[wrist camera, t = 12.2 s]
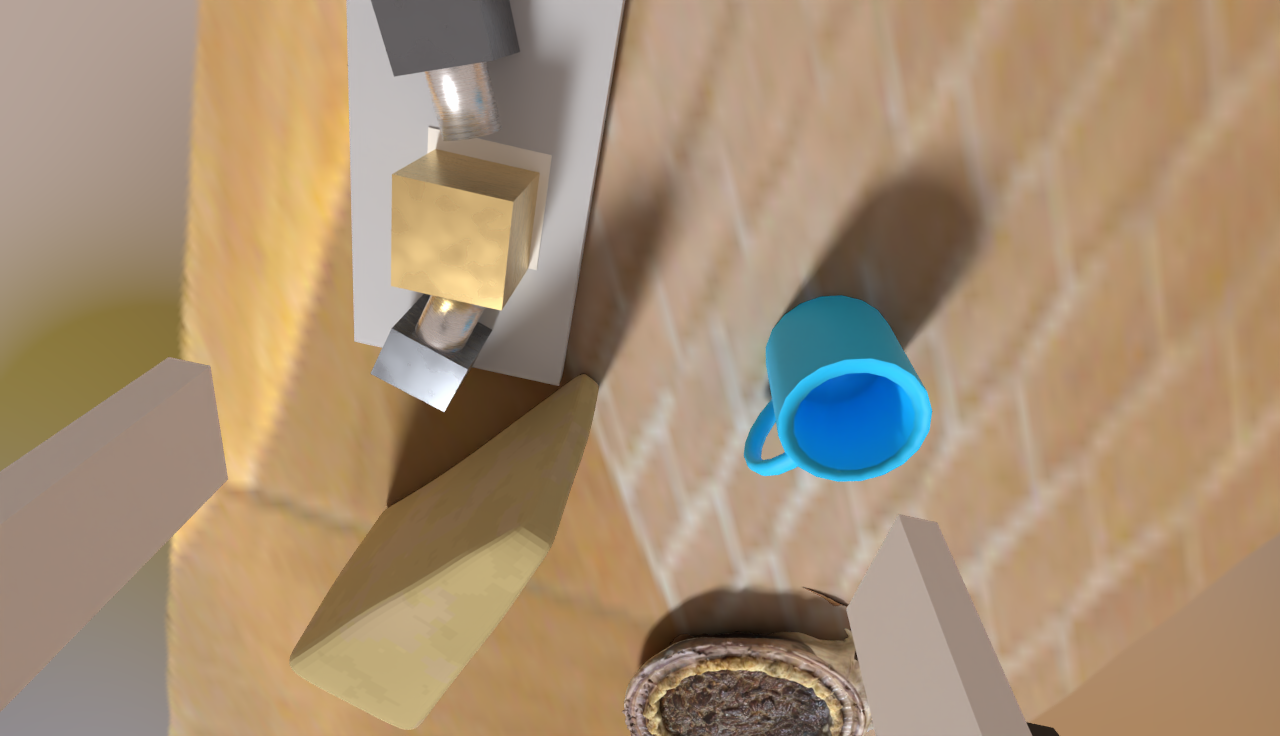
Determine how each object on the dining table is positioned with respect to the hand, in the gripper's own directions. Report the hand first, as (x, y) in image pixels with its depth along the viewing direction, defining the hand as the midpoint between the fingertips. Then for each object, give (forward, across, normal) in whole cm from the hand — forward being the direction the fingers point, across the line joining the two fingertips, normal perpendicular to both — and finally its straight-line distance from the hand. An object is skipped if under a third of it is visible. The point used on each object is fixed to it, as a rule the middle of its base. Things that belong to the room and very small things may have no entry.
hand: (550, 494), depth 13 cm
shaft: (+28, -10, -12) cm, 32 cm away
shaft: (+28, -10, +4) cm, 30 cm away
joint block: (+27, -9, -5) cm, 29 cm away
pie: (+29, +18, -44) cm, 56 cm away
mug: (+29, +13, -11) cm, 34 cm away
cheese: (+29, -6, -24) cm, 38 cm away
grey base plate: (+29, -10, -4) cm, 31 cm away
